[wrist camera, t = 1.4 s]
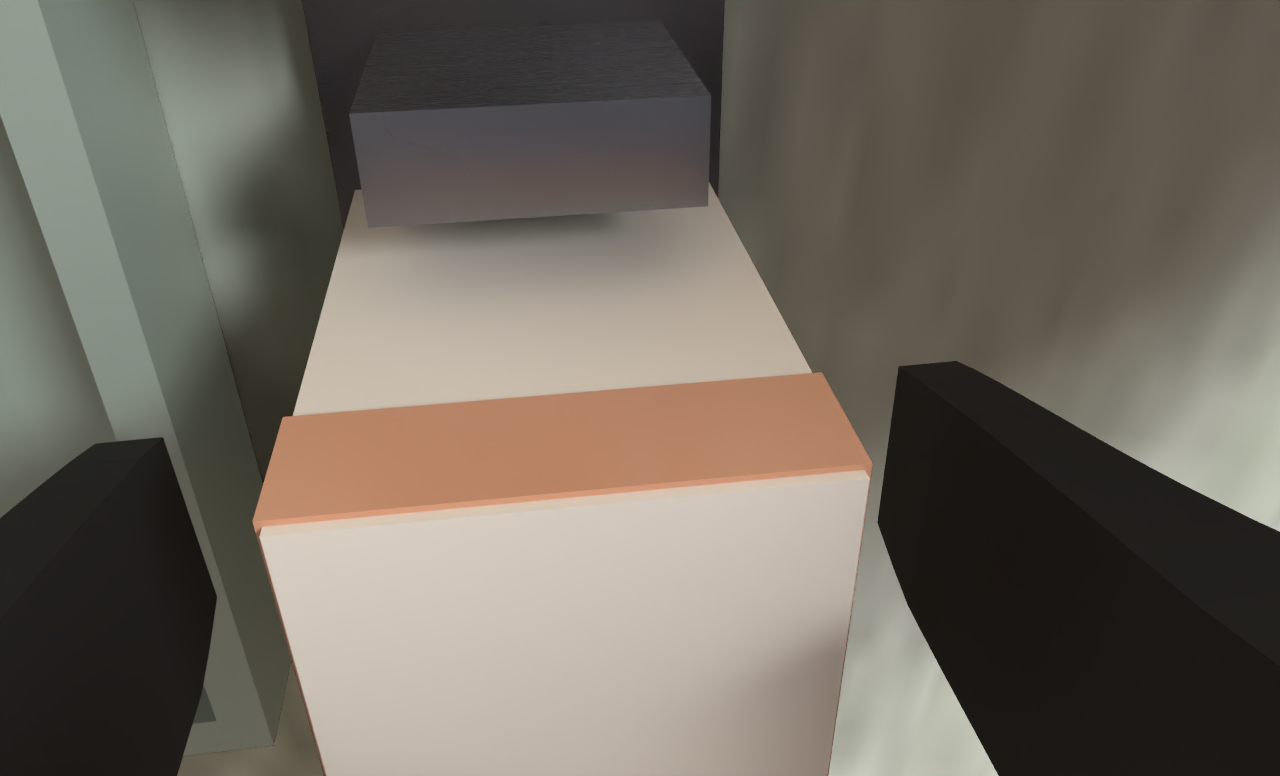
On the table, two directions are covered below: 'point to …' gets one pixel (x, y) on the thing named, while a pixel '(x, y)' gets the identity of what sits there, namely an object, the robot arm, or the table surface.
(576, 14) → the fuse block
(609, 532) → the beige and orange block
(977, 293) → the table surface
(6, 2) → the tray
